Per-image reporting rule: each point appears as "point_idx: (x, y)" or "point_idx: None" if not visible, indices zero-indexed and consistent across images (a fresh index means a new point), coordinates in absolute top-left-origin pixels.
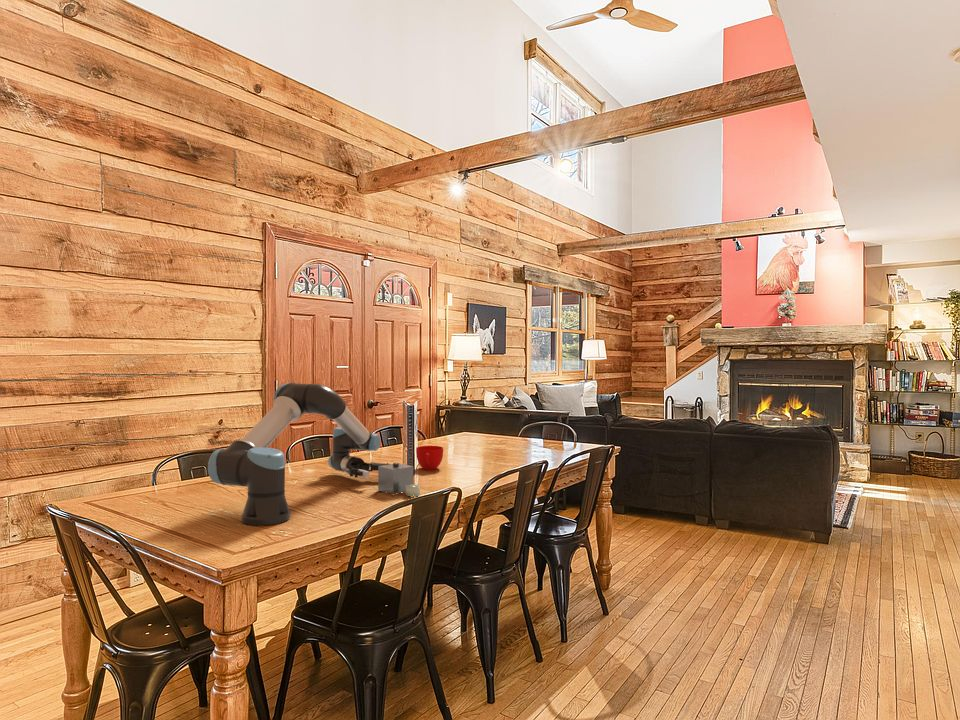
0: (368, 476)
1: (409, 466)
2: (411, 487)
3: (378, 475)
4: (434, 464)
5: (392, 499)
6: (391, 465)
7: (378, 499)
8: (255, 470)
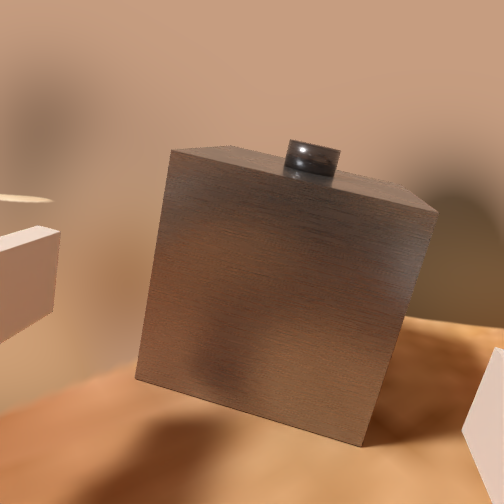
0: (478, 409)
1: (247, 150)
2: None
3: (406, 308)
4: None
5: (407, 328)
6: (310, 176)
7: (477, 368)
8: None
